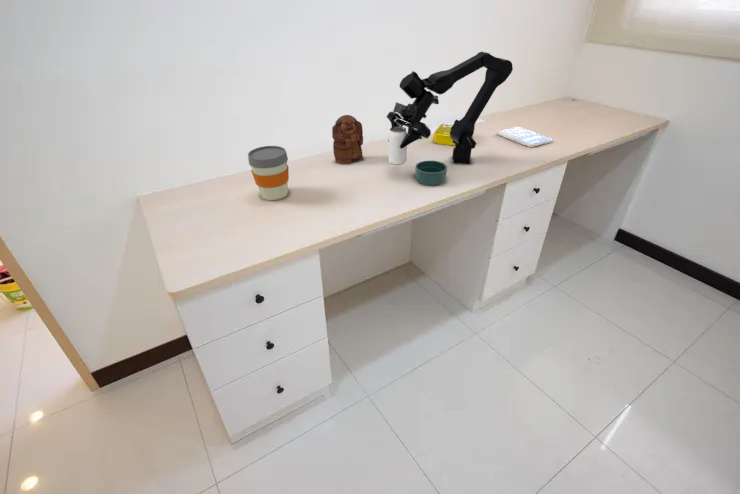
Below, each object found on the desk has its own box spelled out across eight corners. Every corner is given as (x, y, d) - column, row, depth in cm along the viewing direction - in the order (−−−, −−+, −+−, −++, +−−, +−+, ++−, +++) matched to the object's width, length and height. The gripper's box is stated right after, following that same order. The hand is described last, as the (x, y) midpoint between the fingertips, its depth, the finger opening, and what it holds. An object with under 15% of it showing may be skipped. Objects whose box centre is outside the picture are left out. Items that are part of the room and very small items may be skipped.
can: (405, 165, 133) (406, 132, 126) (387, 164, 135) (387, 131, 127) (407, 158, 138) (408, 126, 131) (390, 157, 140) (390, 125, 133)
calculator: (517, 129, 179) (518, 125, 178) (552, 142, 165) (553, 138, 164) (496, 134, 174) (497, 130, 173) (531, 148, 160) (532, 143, 158)
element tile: (432, 143, 166) (433, 132, 164) (440, 132, 178) (441, 122, 175) (466, 147, 162) (467, 136, 159) (472, 136, 173) (473, 125, 170)
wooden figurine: (340, 166, 147) (337, 120, 137) (333, 160, 152) (329, 116, 141) (366, 159, 152) (364, 115, 142) (358, 154, 157) (356, 111, 146)
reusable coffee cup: (275, 206, 122) (267, 163, 113) (248, 197, 128) (238, 155, 119) (300, 190, 131) (294, 149, 122) (274, 183, 136) (266, 143, 127)
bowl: (445, 173, 140) (447, 161, 137) (445, 187, 131) (447, 174, 128) (415, 172, 142) (416, 159, 139) (413, 185, 133) (414, 172, 130)
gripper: (390, 87, 131) (365, 125, 132) (426, 98, 118) (398, 140, 120) (407, 106, 139) (383, 142, 141) (442, 118, 126) (416, 157, 128)
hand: (394, 145), depth 132 cm, fingers closed on can, 6 cm apart
